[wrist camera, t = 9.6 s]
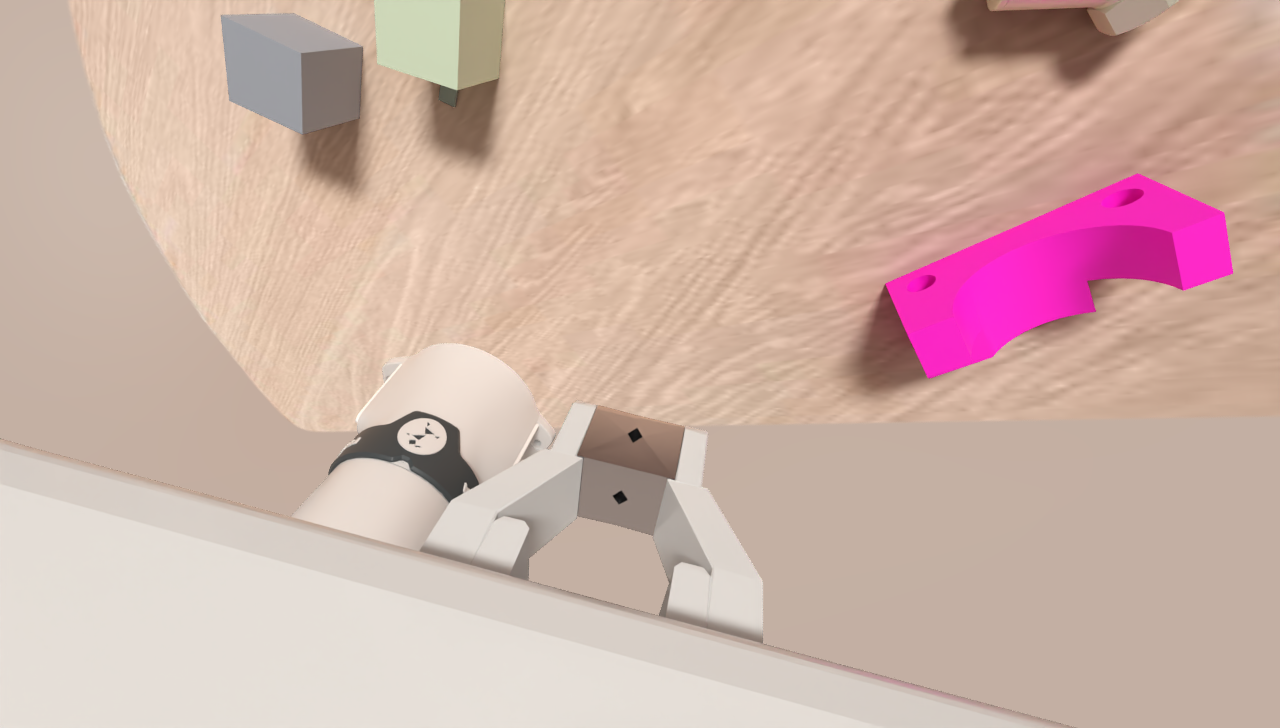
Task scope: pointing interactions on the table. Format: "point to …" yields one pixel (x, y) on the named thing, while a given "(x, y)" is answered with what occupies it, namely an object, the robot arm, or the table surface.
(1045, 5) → the pipe fitting
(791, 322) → the table surface
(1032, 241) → the magenta curved bracket
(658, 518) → the robot arm
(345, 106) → the slate block
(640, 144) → the table surface
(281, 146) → the table surface
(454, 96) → the small gray-green block
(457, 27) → the sage block
